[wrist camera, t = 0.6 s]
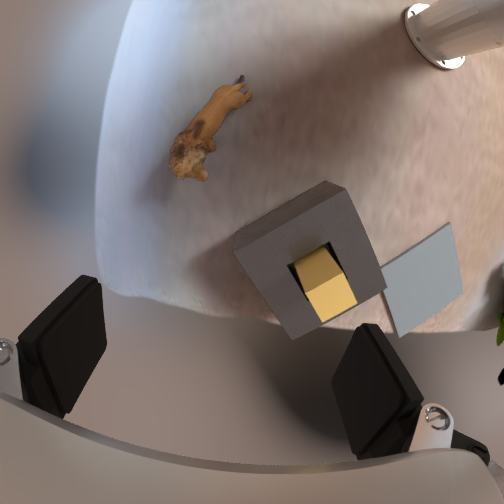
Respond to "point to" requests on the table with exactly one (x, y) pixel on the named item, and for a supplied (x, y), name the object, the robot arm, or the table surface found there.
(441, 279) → the mat
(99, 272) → the table surface
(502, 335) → the potted flower
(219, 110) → the brown animal figure
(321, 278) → the peg
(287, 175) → the table surface
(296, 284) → the hole block
